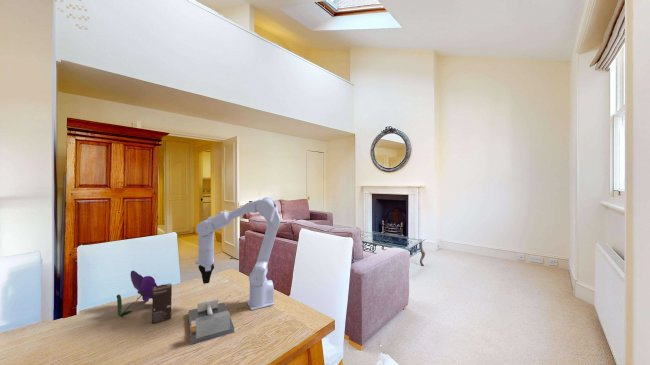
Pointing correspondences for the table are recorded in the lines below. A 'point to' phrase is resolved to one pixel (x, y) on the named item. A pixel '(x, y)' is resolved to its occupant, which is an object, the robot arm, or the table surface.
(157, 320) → the box
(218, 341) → the table surface
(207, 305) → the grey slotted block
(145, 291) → the flower
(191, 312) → the sloped base with peg
